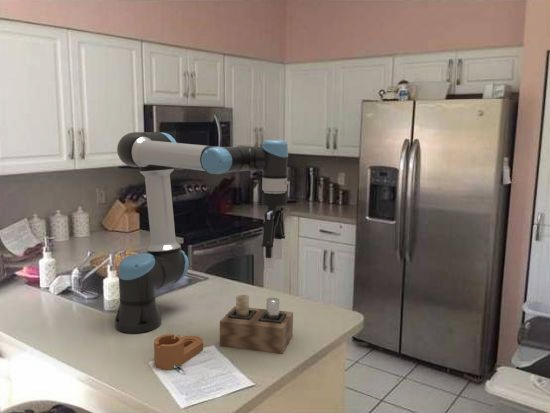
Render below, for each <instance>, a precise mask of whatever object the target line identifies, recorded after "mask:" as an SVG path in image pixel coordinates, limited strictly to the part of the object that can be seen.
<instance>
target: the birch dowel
mask: <svg viewBox="0 0 550 413" xmlns="http://www.w3.org/2000/svg"><path fill="white" fill-rule="evenodd" d="M249 305H250V298H249V295H247V294H239V295H236V297H235V306H236V316H244V317H248V316H249V308H250V306H249Z"/></svg>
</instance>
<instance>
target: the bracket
mask: <svg viewBox="0 0 550 413" xmlns="http://www.w3.org/2000/svg"><path fill="white" fill-rule="evenodd" d="M174 334H175V333H174ZM174 334H173V333H171V334H170V333H169V334H162V335H159V336H158V337H156V338H154V340H153V348H154V350H153V353H154V354H153V356H154V358H153V360H154V367H155V366H156V369H158V368H159V370H162V369H163V370H164V371H170V369H172V370H174V369H173V368H174V365H177V366H181V367H182V366H183V365H184V364H186V363H187V362H188V361H190V360H191V359H193V358H195V357H197V355H199V354H200V353H202V352H203V351H204V350H203V349H204V339H203V338H202V337H200V336H197V335H184V336H183V335H180V334H177V335H176V336H175V335H174Z"/></svg>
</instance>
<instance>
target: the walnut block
mask: <svg viewBox="0 0 550 413" xmlns="http://www.w3.org/2000/svg"><path fill="white" fill-rule="evenodd" d="M293 330H294V312H293V311H287V310H286V311H285V310H279V320H271V319H266V308H265V309H264V308H257V307H249V316H248V317H244V316H236V305H234V306H233V307H232V308H231V309H230V310H229V311H228V312H227V313H226V314H225V316H223V317H222V318H221V319H220V320H219V347H225V348H226V347H227V348H234V349H243V350H250V351H257V352H266V353H274V354H282V355H283V354H284V352H285V351H286V348H287V347H288V345H289V342H290V341H291V339H292V337H293V335H294V334H293Z"/></svg>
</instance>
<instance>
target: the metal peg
mask: <svg viewBox="0 0 550 413" xmlns="http://www.w3.org/2000/svg"><path fill="white" fill-rule="evenodd" d="M265 305H266V308H265V309H266V319H271V320H279V311H280V298H277V297H268V298H266V304H265Z"/></svg>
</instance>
